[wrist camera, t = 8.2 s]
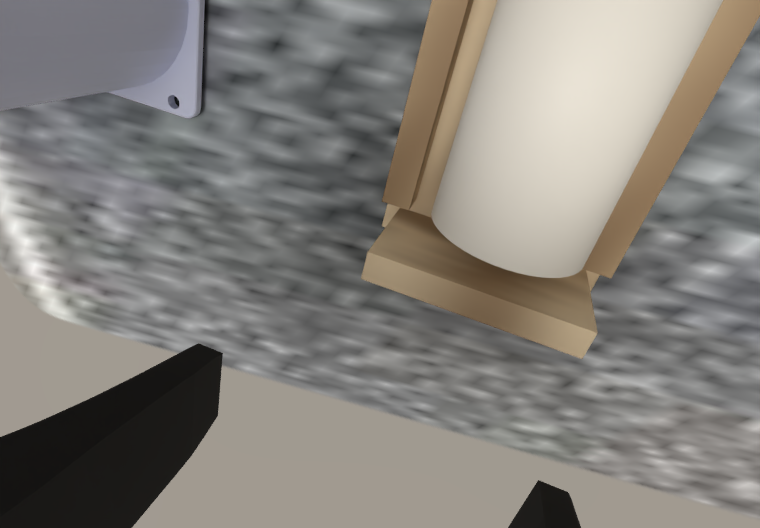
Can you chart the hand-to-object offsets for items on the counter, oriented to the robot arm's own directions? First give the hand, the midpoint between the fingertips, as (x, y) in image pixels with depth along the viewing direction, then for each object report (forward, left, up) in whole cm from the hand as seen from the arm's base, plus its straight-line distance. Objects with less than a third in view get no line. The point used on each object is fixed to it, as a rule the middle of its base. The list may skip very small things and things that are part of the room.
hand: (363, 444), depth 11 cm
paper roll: (+2, +7, -7) cm, 10 cm away
